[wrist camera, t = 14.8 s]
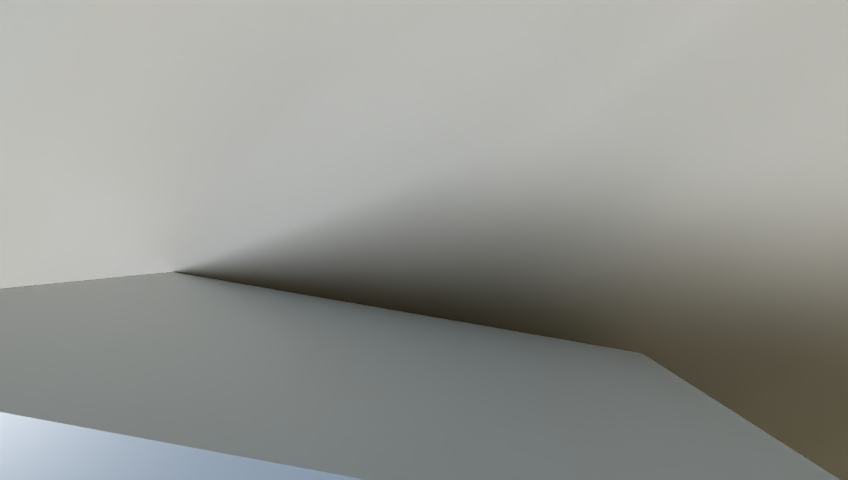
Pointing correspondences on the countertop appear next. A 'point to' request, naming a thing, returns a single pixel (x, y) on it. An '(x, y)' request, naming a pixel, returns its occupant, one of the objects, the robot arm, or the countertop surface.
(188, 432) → the grey-blue cube
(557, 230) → the countertop surface
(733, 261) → the countertop surface
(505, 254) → the countertop surface
